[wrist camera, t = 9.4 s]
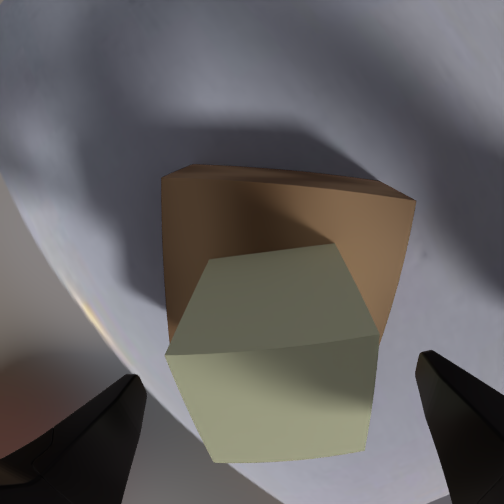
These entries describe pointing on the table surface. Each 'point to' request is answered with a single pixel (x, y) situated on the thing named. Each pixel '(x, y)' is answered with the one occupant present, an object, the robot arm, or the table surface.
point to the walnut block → (281, 226)
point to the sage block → (277, 357)
